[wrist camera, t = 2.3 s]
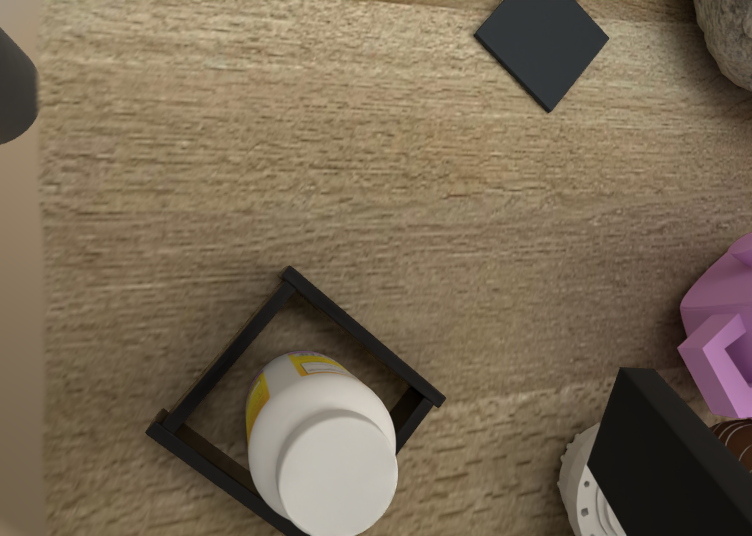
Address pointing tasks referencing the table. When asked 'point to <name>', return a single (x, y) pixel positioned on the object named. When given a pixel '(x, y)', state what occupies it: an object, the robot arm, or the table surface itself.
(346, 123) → the table surface
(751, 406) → the teapot
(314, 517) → the supplement bottle
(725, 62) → the rock
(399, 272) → the table surface
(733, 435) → the donut
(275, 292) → the black square frame
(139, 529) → the table surface
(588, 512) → the mechanical component
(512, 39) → the slate mat
